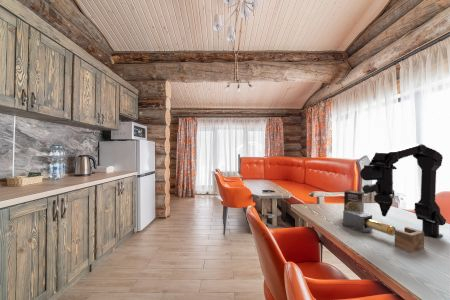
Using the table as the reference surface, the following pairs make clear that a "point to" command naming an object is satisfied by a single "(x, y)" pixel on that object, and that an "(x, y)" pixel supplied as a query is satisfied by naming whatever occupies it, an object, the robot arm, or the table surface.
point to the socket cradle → (409, 239)
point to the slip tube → (380, 227)
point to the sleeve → (356, 220)
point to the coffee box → (354, 200)
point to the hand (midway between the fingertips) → (384, 213)
